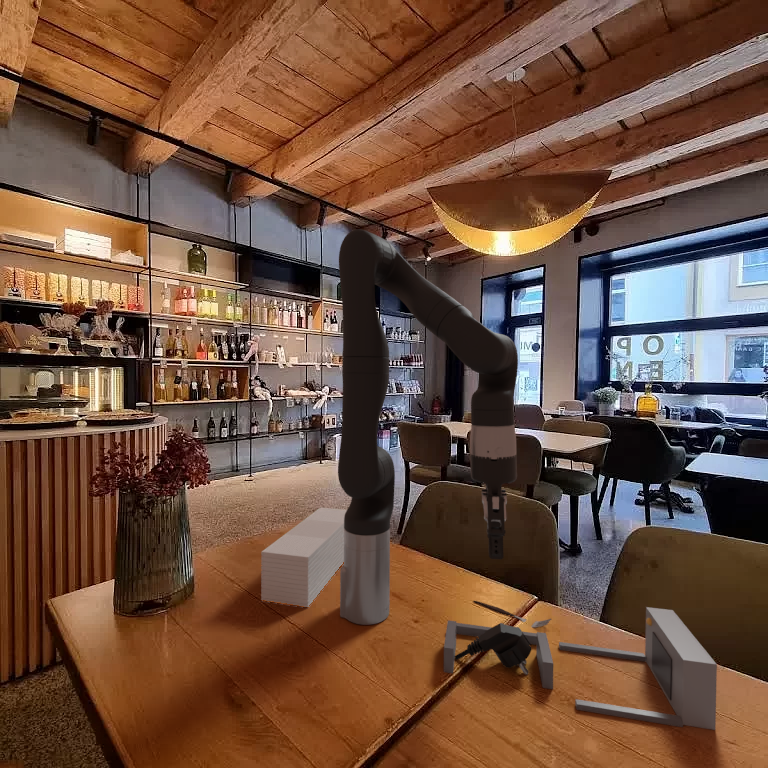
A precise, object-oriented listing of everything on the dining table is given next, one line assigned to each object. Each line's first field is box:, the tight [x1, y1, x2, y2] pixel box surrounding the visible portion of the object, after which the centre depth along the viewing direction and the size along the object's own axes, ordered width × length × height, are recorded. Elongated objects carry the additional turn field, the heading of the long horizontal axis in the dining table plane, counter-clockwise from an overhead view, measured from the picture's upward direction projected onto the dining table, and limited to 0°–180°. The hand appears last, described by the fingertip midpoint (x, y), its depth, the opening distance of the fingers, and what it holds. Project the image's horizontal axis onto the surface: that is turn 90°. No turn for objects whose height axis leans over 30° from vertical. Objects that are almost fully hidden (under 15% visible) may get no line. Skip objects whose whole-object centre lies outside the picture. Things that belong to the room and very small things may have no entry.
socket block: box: [558, 606, 718, 731], centre depth 68 cm, size 18×15×9 cm
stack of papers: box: [260, 507, 347, 608], centre depth 106 cm, size 32×11×11 cm, turn 166°
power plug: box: [455, 622, 532, 676], centre depth 72 cm, size 6×8×12 cm
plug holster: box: [443, 620, 554, 690], centre depth 74 cm, size 17×12×4 cm
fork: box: [472, 600, 552, 629], centre depth 87 cm, size 3×16×2 cm, turn 51°
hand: (494, 548), depth 73 cm, fingers open, 8 cm apart
